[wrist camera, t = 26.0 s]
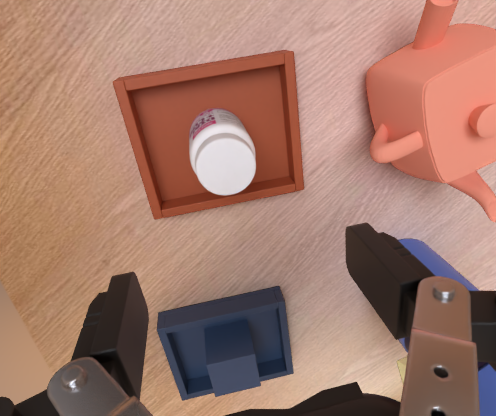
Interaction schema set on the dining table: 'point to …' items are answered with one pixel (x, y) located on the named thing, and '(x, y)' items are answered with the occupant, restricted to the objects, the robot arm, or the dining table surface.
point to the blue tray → (219, 313)
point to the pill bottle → (221, 152)
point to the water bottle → (490, 381)
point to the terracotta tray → (203, 98)
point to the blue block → (231, 358)
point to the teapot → (438, 104)
